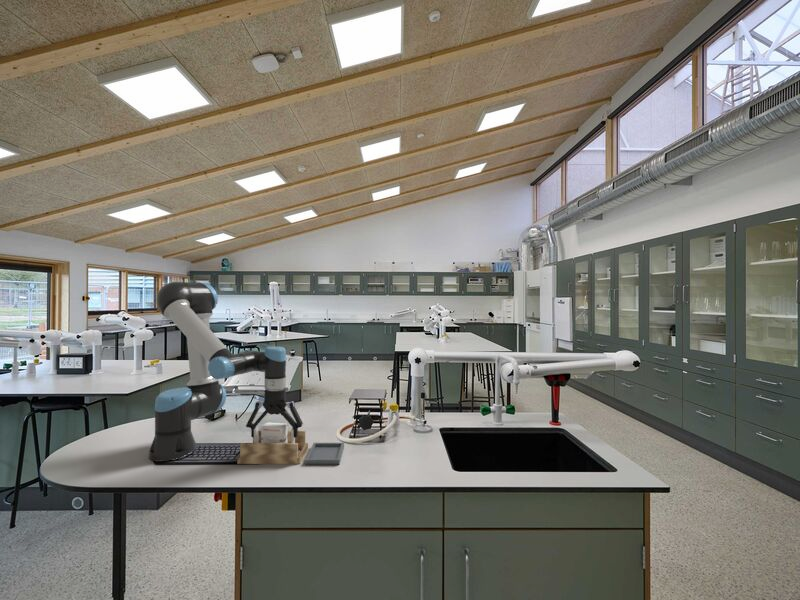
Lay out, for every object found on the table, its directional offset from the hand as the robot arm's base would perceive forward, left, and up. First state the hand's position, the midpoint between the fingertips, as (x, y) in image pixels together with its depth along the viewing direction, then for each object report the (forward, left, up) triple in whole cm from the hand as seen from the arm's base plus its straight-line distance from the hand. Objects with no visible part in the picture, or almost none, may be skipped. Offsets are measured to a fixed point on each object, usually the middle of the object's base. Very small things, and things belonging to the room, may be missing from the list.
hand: (274, 445), depth 144 cm
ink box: (0, 0, -4) cm, 4 cm away
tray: (+19, 0, -4) cm, 19 cm away
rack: (0, 0, -4) cm, 4 cm away
